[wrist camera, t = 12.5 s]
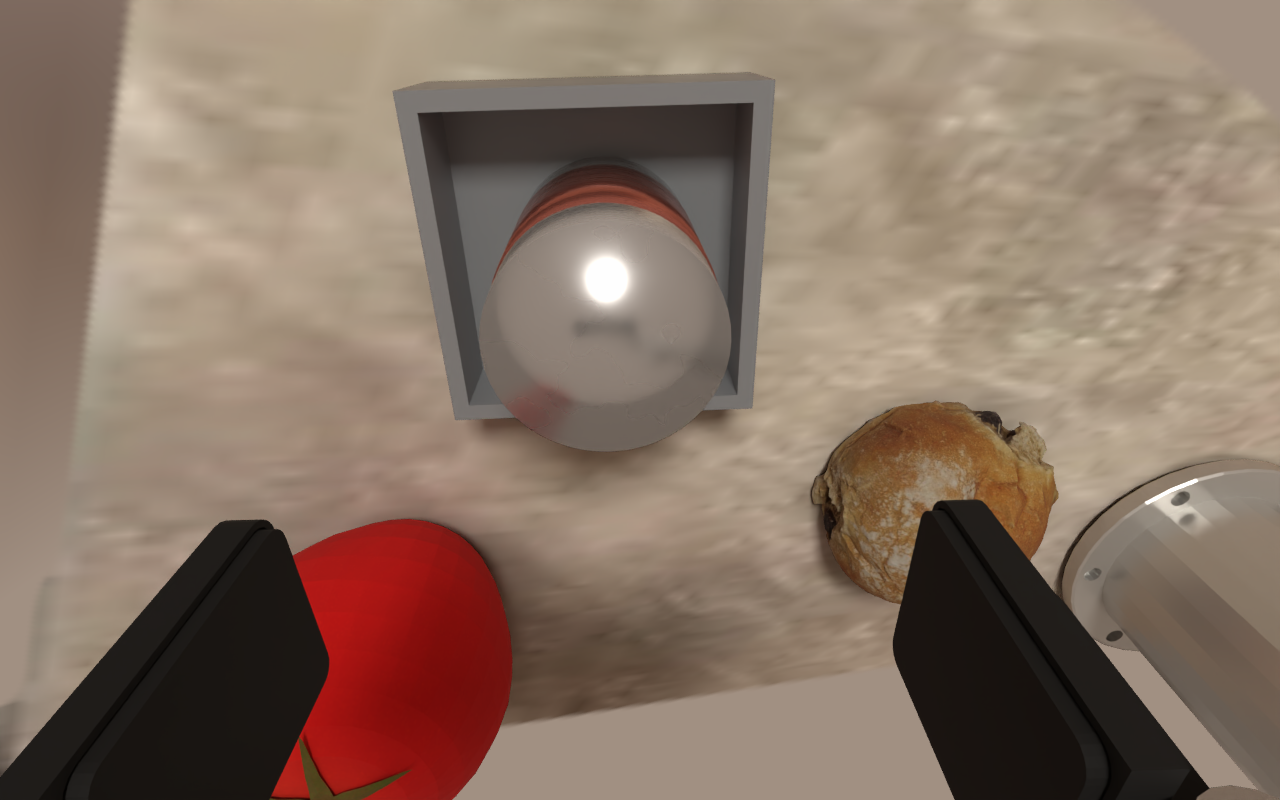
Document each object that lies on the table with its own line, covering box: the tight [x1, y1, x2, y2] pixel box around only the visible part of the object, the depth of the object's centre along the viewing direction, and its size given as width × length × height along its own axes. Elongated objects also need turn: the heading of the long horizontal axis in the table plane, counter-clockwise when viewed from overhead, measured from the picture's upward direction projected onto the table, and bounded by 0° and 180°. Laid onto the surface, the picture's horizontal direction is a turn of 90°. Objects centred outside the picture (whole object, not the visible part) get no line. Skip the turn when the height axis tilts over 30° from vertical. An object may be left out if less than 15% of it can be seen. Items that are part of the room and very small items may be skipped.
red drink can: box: [479, 156, 731, 452], centre depth 21 cm, size 6×6×9 cm
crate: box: [393, 72, 775, 420], centre depth 24 cm, size 11×11×4 cm
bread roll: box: [812, 401, 1058, 604], centre depth 30 cm, size 10×10×8 cm
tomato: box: [269, 519, 512, 800], centre depth 28 cm, size 12×12×13 cm
